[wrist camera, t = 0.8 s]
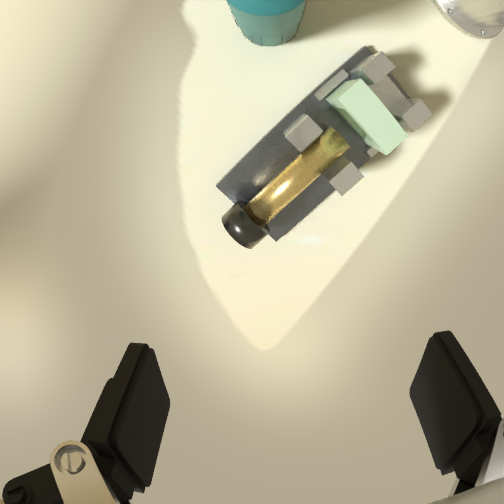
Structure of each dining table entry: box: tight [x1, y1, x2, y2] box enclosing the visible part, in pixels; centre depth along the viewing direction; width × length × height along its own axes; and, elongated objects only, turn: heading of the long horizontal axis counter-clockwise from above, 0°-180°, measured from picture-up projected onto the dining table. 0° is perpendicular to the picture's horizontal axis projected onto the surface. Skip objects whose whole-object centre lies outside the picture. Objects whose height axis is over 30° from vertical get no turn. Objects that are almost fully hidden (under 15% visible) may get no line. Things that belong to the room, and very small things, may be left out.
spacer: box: [325, 79, 408, 155], centre depth 29 cm, size 3×7×7 cm, turn 46°
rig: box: [216, 46, 432, 241], centre depth 32 cm, size 24×10×7 cm, turn 136°
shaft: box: [222, 126, 350, 249], centre depth 33 cm, size 15×5×5 cm, turn 136°
